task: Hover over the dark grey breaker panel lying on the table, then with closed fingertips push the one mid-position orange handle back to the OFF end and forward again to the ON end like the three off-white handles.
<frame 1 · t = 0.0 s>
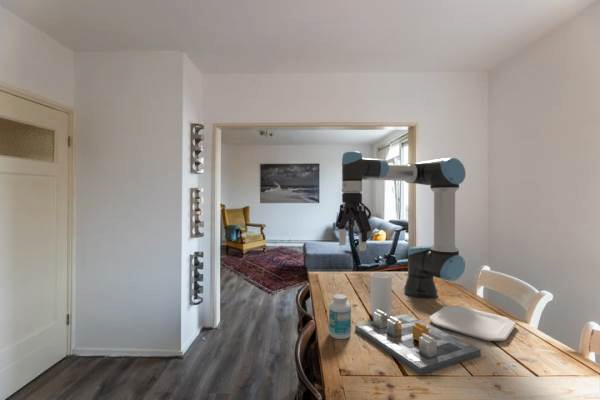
hand: (352, 247, 116), 28 cm above the table, fingers open, 13 cm apart
tripped breaker: (420, 331, 96), point 5 cm above the table, slide at 0.0 cm
panel: (412, 341, 99), on the table
pill bottle: (339, 335, 104), on the table
plate: (471, 326, 112), on the table
cup: (380, 314, 122), on the table
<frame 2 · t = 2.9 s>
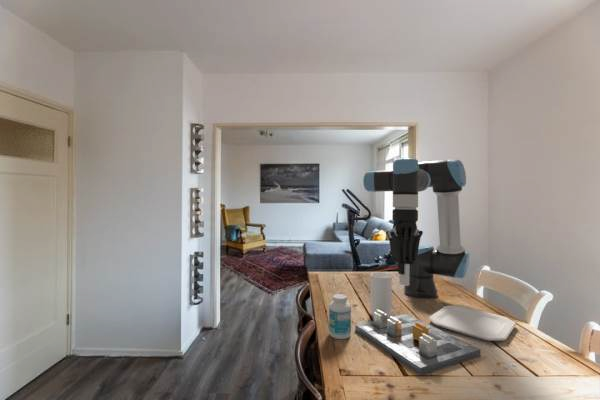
hand: (404, 284, 94), 20 cm above the table, fingers closed
nothing on the table moved.
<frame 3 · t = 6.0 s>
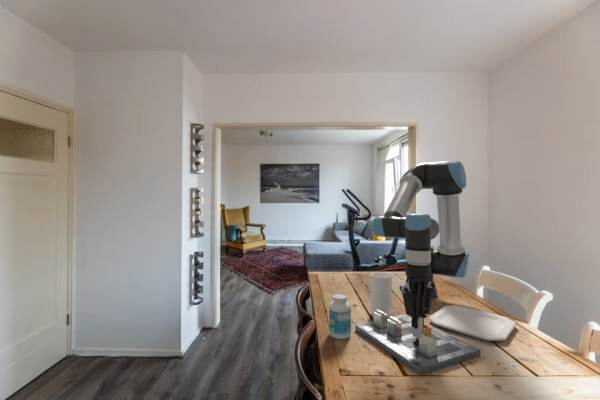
hand: (417, 337, 95), 3 cm above the table, fingers closed
tripped breaker: (423, 330, 96), point 5 cm above the table, slide at -1.2 cm, touching gripper
everything else where it was.
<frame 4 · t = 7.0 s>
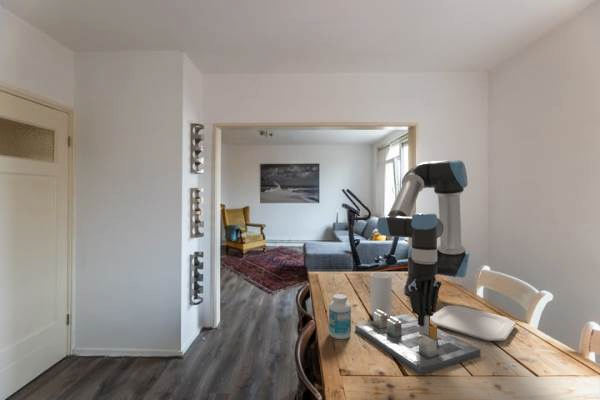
hand: (423, 335, 96), 3 cm above the table, fingers closed
tripped breaker: (429, 329, 97), point 5 cm above the table, slide at -3.7 cm, touching gripper
everything else where it was.
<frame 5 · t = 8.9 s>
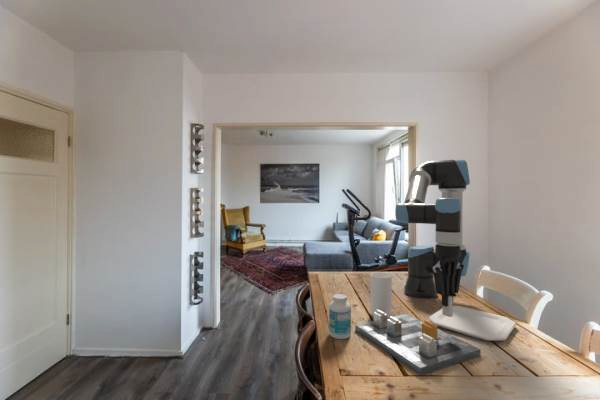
hand: (447, 315, 100), 8 cm above the table, fingers closed
tripped breaker: (429, 329, 97), point 5 cm above the table, slide at -3.8 cm
everything else where it was.
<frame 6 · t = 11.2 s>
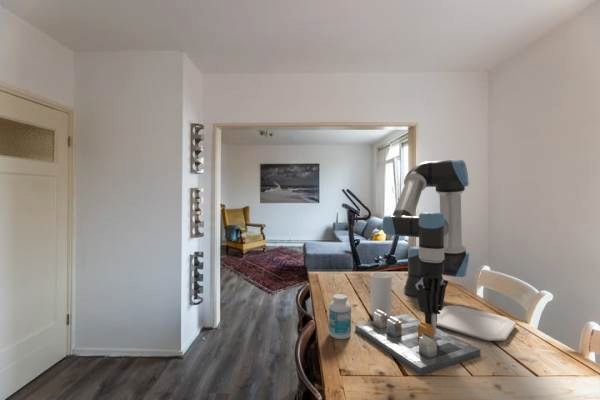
hand: (431, 333, 97), 4 cm above the table, fingers closed
tripped breaker: (425, 330, 96), point 5 cm above the table, slide at -2.2 cm, touching gripper
everything else where it was.
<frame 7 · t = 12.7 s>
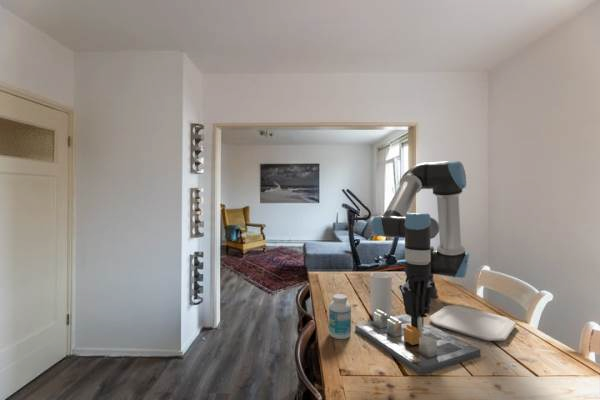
hand: (417, 336, 95), 4 cm above the table, fingers closed
tripped breaker: (411, 333, 94), point 5 cm above the table, slide at 3.7 cm, touching gripper
everything else where it was.
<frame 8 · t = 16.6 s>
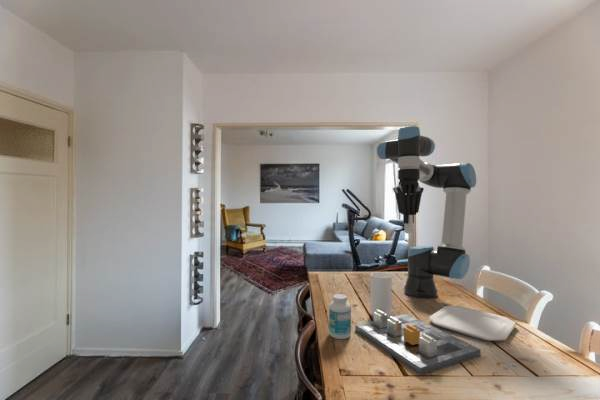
hand: (408, 232, 112), 34 cm above the table, fingers closed
tripped breaker: (411, 333, 94), point 5 cm above the table, slide at 3.7 cm
everything else where it was.
at the end: tripped breaker slide at 3.7 cm; tripped breaker touching nothing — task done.
